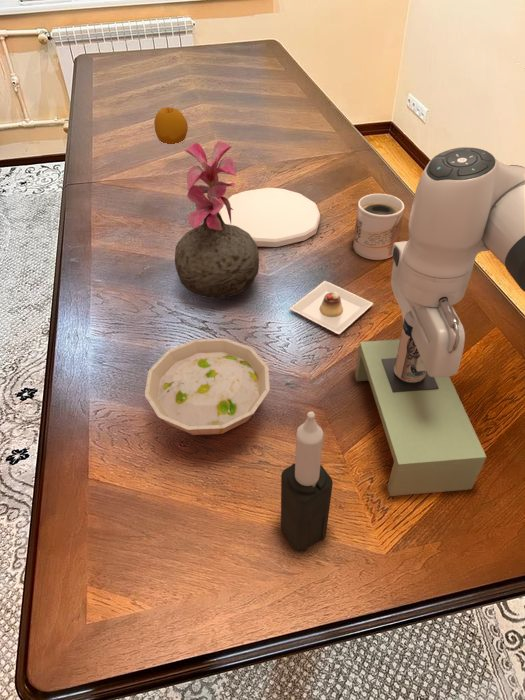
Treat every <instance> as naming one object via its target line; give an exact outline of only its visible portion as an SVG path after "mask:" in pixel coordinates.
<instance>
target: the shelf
mask: <svg viewBox="0 0 525 700" xmlns="http://www.w3.org/2000/svg"><path fill="white" fill-rule="evenodd" d="M399 342H400V338H397V339H396V338H395V339H382V340H367V341H359V345H358V350H357V351H358V352H357V359H356V365H355V373H354V376H355V381H356V382H365V381H368V382H369V385H370V388H371V392H372V395H373V398H374V401H375V405H376V408H377V410H378V414H379V418H380V421H381V424H382V427H383V430H384V434H385V437H386V440H387V443H388V447H389V449H390V453H391V456H392V460H393V465H392V468H391V472H390V476H389V479H388V484H387V487H386V488H387V491H388V495H389V497H397V496H410V495H419V494H420V495H421V494H432V493H441V492H442V493H443V492H456V491H467V490H468V491H469V490H472V489H473V487H474V485H475V483H476V481H477V479H478V476H479V474H480V472H481V470H482V468H483V466H484V464H485V462H486V460H487V455H486V453H485V450H484V448H483V447H482V444H481V442H480V439H479V437H478V435H477V433H476V431H475V429H474V427H473V425H472V424H473V423H471V420H470V417H469V416H468V413H467V411H466V409H465V407H464V404H463V403H462V401H461V398H460V396H459V394H458V392H457V389H456V388H455V385H454V384H453V381H452V379H451V376H448V377H430V376H429V375H428V373H427V371H426V375H425V377H424V378H423V379H422V380H421V381H419V382H406V381H403V380H402V379H400V378H399V377H397V375H396V374H395V372H394V366H395V361H396V357H397V352H398V347H399Z"/></svg>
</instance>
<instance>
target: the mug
mask: <svg viewBox="0 0 525 700" xmlns="http://www.w3.org/2000/svg"><path fill="white" fill-rule="evenodd" d="M356 209H357V210H356V220H355V227H354V235H353V236H354V237H353V243H352V245H353V246H352V247H353V251H354V252H355V253H356V254H357V255H359V256H360V257H361V258H363V259H367V260H373V261H381V260H382V261H383V260H387V259H389V258H393V256H392V248H393V244H394V243H395V242H399V240H400V234H401V229H402V223H403V217H404V212H405V203H404V202H403V201H402V200H401V199H400V198H398V197H396V196H395V195H392V194H387V193H370V194H366V195H364V196H362V197H361V198H360V199H359V200H358V202H357V208H356Z"/></svg>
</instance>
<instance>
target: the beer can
mask: <svg viewBox="0 0 525 700" xmlns="http://www.w3.org/2000/svg"><path fill="white" fill-rule="evenodd" d="M412 329H413V318H412V316H411V314H410V311H409V312H408V313H406V315H405V319H404V323H403V322H402V329H401V333H400V338H399V339H400V342H399V347H398V352H397V357H396V361H395V366H394V372H395V374H396V375H397V377H399V378H400V379H402V380H403V381H406V382H419V381H421V380H422V379H423V378H424V377H425V375H426V371H417V370H416V367H415V365H414V361H415V356H420V354H419V352H418V350H417V347H416V345H415V343H414V340H413V338H412Z"/></svg>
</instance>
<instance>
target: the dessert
mask: <svg viewBox="0 0 525 700" xmlns="http://www.w3.org/2000/svg"><path fill="white" fill-rule="evenodd" d="M372 306H374V302H372V301H370V300H367V299H365V298H363V297H361V296H359V295H357V294H354V293H352V292H351V291H349V290H346V289H344V288H342V287H340V286H338V285H336V284H333V283H332V282H329V281H327V280H323V281H322V282H321V283H320V284H318V285H317V286H316V287H314V288H313V289H312V290H311V291H309V292H308V293H307V294H305V295H304V296H303V297H301V298H300V299H299V300H298V301H296V302H295V303H294V304H293V305H291V306H290V307H289V310H290V311H292V312H294V313H296V314H298V315H300V316H302V317H304V318H306V319H308V320H309V321H312V322H313V323H315V324H318V325H319V326H321V327H323V328H325V329H327V330H329V331H331V332H332V333H335V334H337V335H341V334H342V333H343V332H344V331H345V330H346V329H348V327H349V326H351V325H352V324H353V323H354V322H355V321H356V320H358V319H359V318H360V317H361V316H362V315H363V314H364V313H365V312H366V311H368V309H370V308H371V307H372Z"/></svg>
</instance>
